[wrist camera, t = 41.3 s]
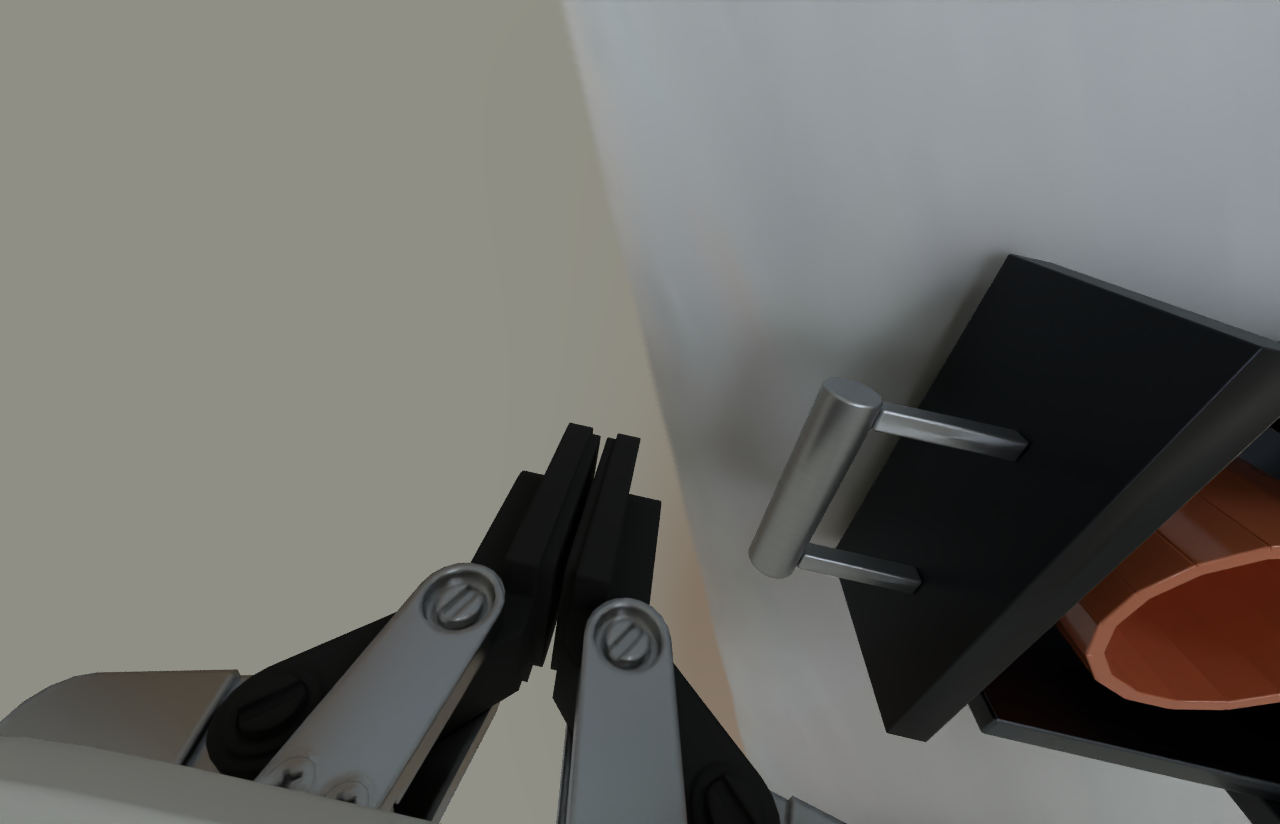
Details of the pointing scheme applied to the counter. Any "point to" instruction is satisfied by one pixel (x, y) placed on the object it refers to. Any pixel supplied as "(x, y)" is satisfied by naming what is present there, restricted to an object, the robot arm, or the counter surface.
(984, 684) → the drawer
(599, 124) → the counter surface
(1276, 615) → the cup
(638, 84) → the counter surface
